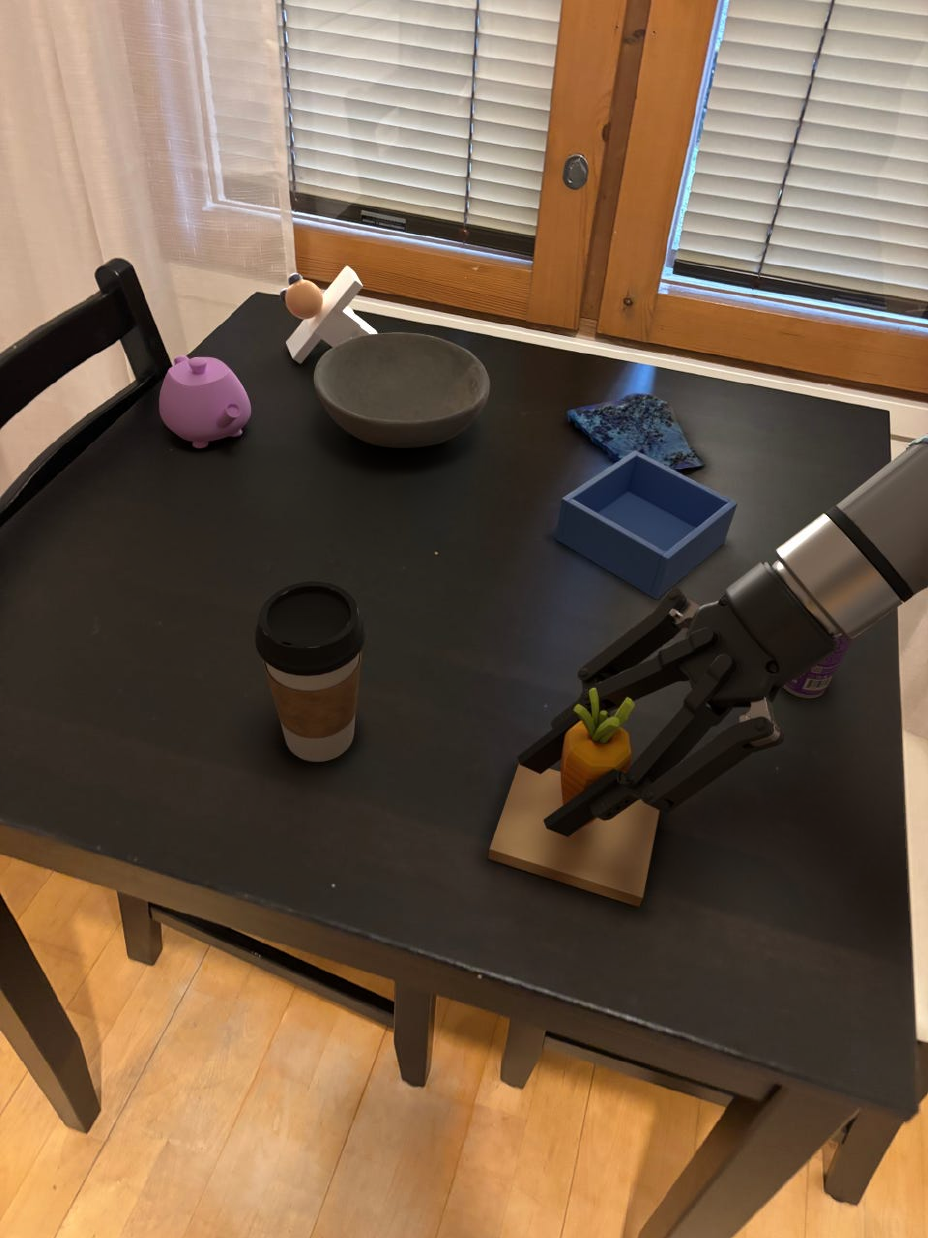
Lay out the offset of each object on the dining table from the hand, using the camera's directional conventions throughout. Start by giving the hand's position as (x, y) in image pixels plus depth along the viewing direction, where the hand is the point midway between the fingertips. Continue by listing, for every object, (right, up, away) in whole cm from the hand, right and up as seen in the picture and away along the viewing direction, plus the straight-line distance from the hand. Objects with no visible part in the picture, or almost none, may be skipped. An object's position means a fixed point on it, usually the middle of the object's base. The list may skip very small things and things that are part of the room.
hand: (542, 796), depth 65 cm
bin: (+14, +22, +33) cm, 42 cm away
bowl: (-14, +37, +47) cm, 61 cm away
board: (+3, -4, +6) cm, 8 cm away
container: (+27, +7, +19) cm, 34 cm away
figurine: (-24, +51, +60) cm, 82 cm away
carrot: (+3, -3, +5) cm, 7 cm away
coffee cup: (-18, +3, +11) cm, 22 cm away
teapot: (-37, +36, +44) cm, 67 cm away
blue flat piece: (+17, +36, +48) cm, 62 cm away
